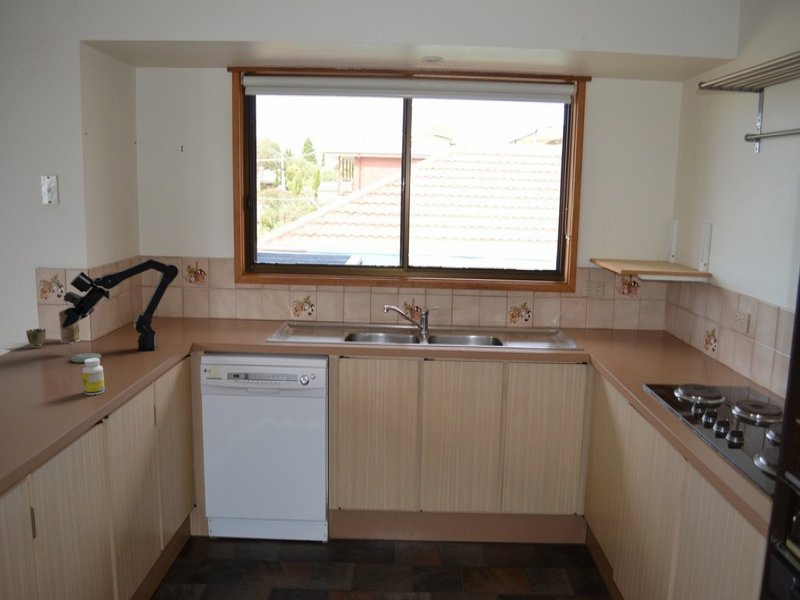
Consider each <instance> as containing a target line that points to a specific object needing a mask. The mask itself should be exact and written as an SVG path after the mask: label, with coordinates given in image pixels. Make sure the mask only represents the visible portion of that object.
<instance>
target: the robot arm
mask: <svg viewBox="0 0 800 600" xmlns="http://www.w3.org/2000/svg"><path fill="white" fill-rule="evenodd" d="M149 270H155V271H156V272H160V276H159V279H158V283H157V284H156V287H155V289H154V291H153V292H152V295H151V296H150V298H149V300H148V301H147V304H146V306H145V308H144V309H143V311H142V312H137V314H136V315H135V316H136V317H134V319H133V327H134V330H135V331H136V332H137V333H138V334H140V335H138V338H137V347H138V351H139V352H141V351H142V352H143V351H144V352H145V351H149V350H150V351H151V352H153V351H155V350H156V349H157V348H158V345H157V336H156V331H155V329H154V328H153V327H152V326H151V325H152V322H153V317H154V314H155V313H156V310H157V309H158V308H157V307H159V304H160V303H161V300H162V299H163V297H164V294H165V292H166V291H167V289H168V287H169V286H170V285H171V284H172V282H174V281H175V279H176V278H177V276H178V275H179V269H178V267H177V266H176V265H174V264H173V263H164V262H160V261H158V260H156V259H153V258H147V259H146V260H144V261H140V262H139V263H137V264H134V265H131V266H129V267H127V268H123V269H121V270H118V271H112V272H108V273H103V274H102V275H101V276H100V277H95V278H92V277H90V276H88V275H87V274H86V273H85V272H84V271H81V272H79V274H77V275H76V276H75V277H74V278H73V279H72V280H71V282H70V283H69V284H70V286H73V287H74V288H75V289H77V290H78V291H79V292H80V293H83V292H84V293H86V294H83V296H82V295H80V294H77V293H75V292H72V291H68V292H66V293H65V295H63V301H64V302H67V303H69V304H72V306H73V307H71V306H69V307H68V308H65V309H66V310H65V311H64V314H66V315H67V318H66V320H65V322H64V324H63V325H62V326H63V327H64V328H65V327H67V326H69V325H72V324H74V323H76V322H78V321H79V322H80V321H81V320H84V319H85V318H88V316H90V315H92V314H93V313H94V312H95V307H97V305H98V303H99V302H100V301H101V300H102V299H103V298H104V297H105V298H106V299H107V300H110V297H111V294H110V293H111V292H110V290H111V289H113V288H115V287H116V286H118V285H119V284H121V283H122V282H123V281H126V280H127V279H130V278H132V277H134V276H136V275H139V274H141V273H143V272H147V271H149ZM105 289H106V290H105Z"/></svg>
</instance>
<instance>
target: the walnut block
mask: <svg viewBox="0 0 800 600" xmlns="http://www.w3.org/2000/svg"><path fill="white" fill-rule="evenodd" d="M66 309H67V308H65V309H64V308H63V310H61V311H58V312H59V316H60V326H61V336H62V343H61V344H67V343H73V344H75V343H77V342H76V341H78V340H79V331H80V328H79V329H78V322H76V323H74V324H72V325H69V326H67V327H65V328H64V327H63V326H62V325H63V324H64V322H65V320H66V318H67V315H66V314H64V311H65V310H66ZM59 316H58V317H59ZM61 336H60V337H61ZM78 342H79V341H78Z"/></svg>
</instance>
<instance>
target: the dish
mask: <svg viewBox="0 0 800 600" xmlns="http://www.w3.org/2000/svg"><path fill="white" fill-rule="evenodd" d="M90 358H99V359H100V360H101V359H102V354H100V353H97V352H88V353H87V352H86V353H79V354H75V355H73V356H71V357H70V359H71V362H73V363H81V364H82V362H83V363H85V360H86V359H90Z"/></svg>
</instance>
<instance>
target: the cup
mask: <svg viewBox="0 0 800 600" xmlns="http://www.w3.org/2000/svg"><path fill="white" fill-rule="evenodd" d="M46 330H47V329H46V328H43V329H42V328H38V327H37V328H36V329H35V328H33V329H32V328H31V329H28V330H26V331H25V333H26V337H27V340H28V343H29V344H30V345H32V348H33V349H35V348H37V349H41V348H42V347H43V344H44V343H45V341H46V334H47V333H46ZM40 347H41V348H40Z"/></svg>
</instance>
